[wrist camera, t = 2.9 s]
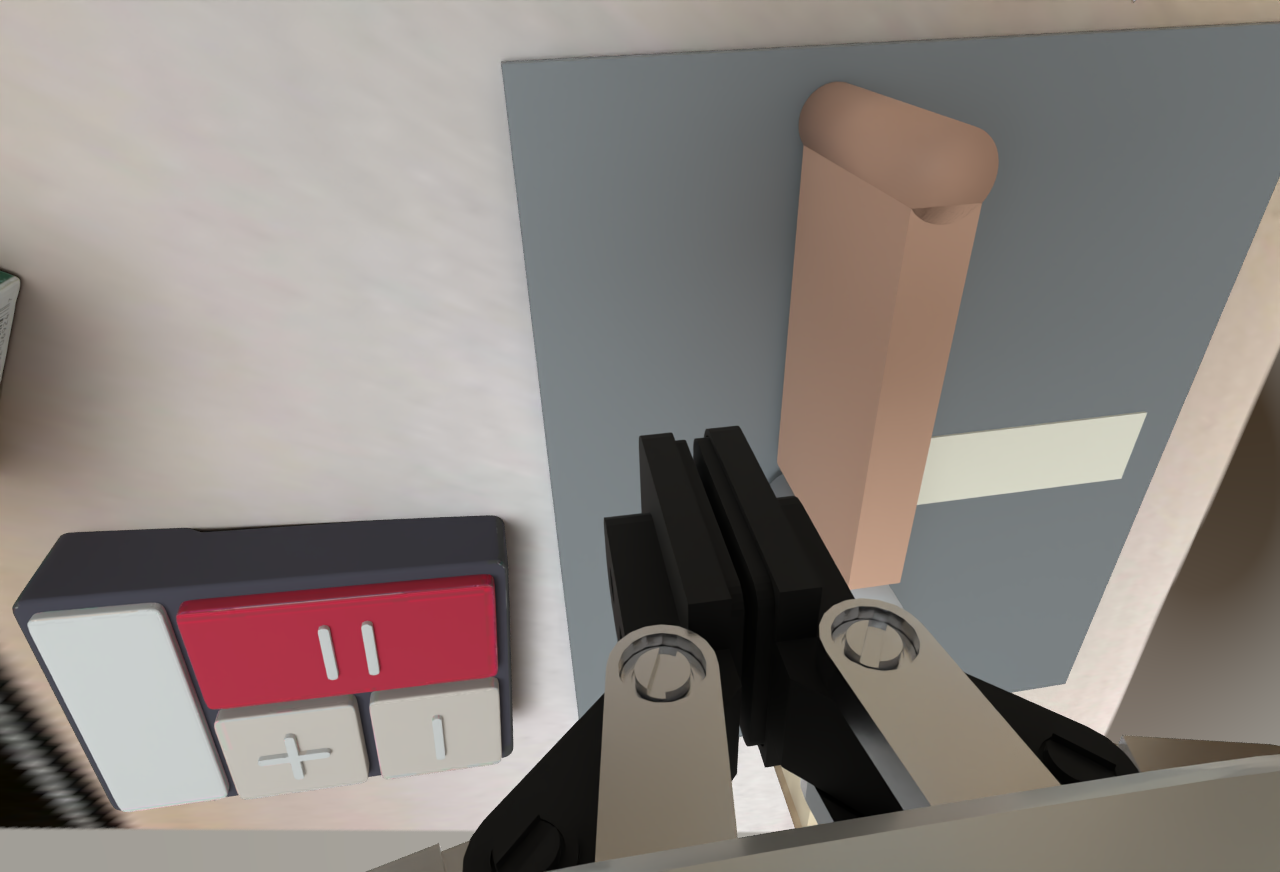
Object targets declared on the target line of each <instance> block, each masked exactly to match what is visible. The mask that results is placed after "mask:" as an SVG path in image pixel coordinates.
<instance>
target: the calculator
mask: <svg viewBox="0 0 1280 872" xmlns="http://www.w3.org/2000/svg"><path fill="white" fill-rule="evenodd" d="M13 613H14V616H15V618H16V620H17V622H18V624H19V626H20V628H21V630H22V632H23V634H24V635H25V637H26V639H27V641H28V643H29V645H30V647H31V649H32V651H33V653H34V655H35V657H36V659H37V661H38V663H39V665H40V667H41V669H42V670H43V672H44V674H45V676H46V678H47V680H48V682H49V684H50V686H51V688H52V690H53V692H54V694H55V696H56V698H57V700H58V702H59V704H60V705H61V707H62V709H63V711H64V713H65V715H66V717H67V719H68V721H69V723H70V725H71V727H72V729H73V731H74V733H75V735H76V737H77V739H78V740H79V742H80V744H81V746H82V748H83V750H84V752H85V754H86V756H87V758H88V760H89V762H90V764H91V766H92V768H93V770H94V772H95V774H96V775H97V777H98V779H99V781H100V783H101V785H102V787H103V789H104V791H105V793H106V795H107V797H108V799H109V801H110V803H111V804H112V806H113V807H114V808H115V809H117V810H121V811H124V812H133V811H140V810H147V809H155V808H162V807H169V806H176V805H183V804H190V803H197V802H204V801H211V800H218V799H222V798H225V797H229V796H236V795H239V796H240V798H242V799H255V798H262V797H269V796H276V795H283V794H290V793H297V792H304V791H311V790H318V789H325V788H332V787H339V786H346V785H353V784H359V783H364V782H366V781H367V780H368V777H371V776H378V775H382V777H383V778H385V779H395V778H402V777H409V776H416V775H423V774H430V773H437V772H444V771H451V770H458V769H465V768H472V767H479V766H486V765H493V764H497V763H499V762H500V761H501V758H503V757H507V756H508V755H510V754H511V753H512V751H513V719H512V684H511V648H510V613H509V578H508V561H507V549H506V539H505V528H504V522H503V521H502V519H501V518H499V517H497V516H464V517H440V518H416V519H393V520H373V521H357V522H342V523H328V524H314V525H300V526H286V527H272V528H257V529H243V530H229V531H214V532H199V531H196V530H193V529H190V528H169V529H145V530H120V531H96V532H75V533H66V534H63V535H61V536H60V538H59V539H58V540H57V542H56V543H55V545H54V546H53V547H52V549H51V550H50V552H49V553H48V555H47V556H46V558H45V559H44V561H43V562H42V564H41V565H40V566H39V568H38V569H37V571H36V572H35V574H34V575H33V577H32V578H31V580H30V581H29V583H28V584H27V585H26V587H25V588H24V590H23V591H22V593H21V594H20V596H19V597H18V599H17V600H16V602H15V604H14V605H13Z"/></svg>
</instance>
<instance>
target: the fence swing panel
mask: <svg viewBox="0 0 1280 872" xmlns="http://www.w3.org/2000/svg"><path fill="white" fill-rule="evenodd" d="M799 135H800V138H801V141H802V143H803V145H804V146H803V158H802V170H801V182H800V194H799V206H798V217H797V229H796V241H795V253H794V265H793V277H792V289H791V301H790V313H789V324H788V336H787V348H786V360H785V372H784V384H783V396H782V408H781V420H780V431H779V443H778V455H777V464H778V466H779V468H780V469H781V471H782V473H783V474H782V475H780V476H778V477H777V478H776V479H775V480H773V481H772V482H771V484H770V486H771V488H772V490H773V492H774V494H775V496H776V498H777V497H786V496H795V497H798V499H799V500H800V502H801V503H802V505H803V506H804V508H805V510H806V512H807V514H808V515H809V517H810V519H811V521H812V523H813V524H814V526H815V528H816V530H817V531H818V533H819V535H820V537H821V539H822V540H823V542H824V544H825V546H826V548H827V549H828V551H829V553H830V555H831V557H832V558H833V560H834V562H835V564H836V566H837V567H838V569H839V571H840V573H841V574H842V576H843V578H844V580H845V582H846V583H847V585H848V587H849V589H850V591H851V592H852V594H853V596H854V598H855V599H859V598H865V599H876V600H881V601H884V602H887V603H891V604H894V605H896V606H898V607H900V608H902V609H903V607H902V605H901V604H900V602H899V600H898V599H897V597H896V596H895V594H894V592H893V591H892V589H891V588H890V586H889V584H896V583H900V580H901V576H902V571H903V567H904V562H905V557H906V553H907V548H908V543H909V539H910V534H911V530H912V525H913V520H914V516H915V511H916V506H917V502H918V497H919V493H920V488H921V483H922V479H923V474H924V469H925V465H926V460H927V456H928V451H929V446H930V442H931V437H932V432H933V428H934V423H935V419H936V414H937V409H938V405H939V400H940V395H941V391H942V386H943V382H944V377H945V372H946V368H947V363H948V358H949V354H950V349H951V345H952V340H953V335H954V331H955V326H956V321H957V317H958V312H959V308H960V303H961V298H962V294H963V289H964V284H965V280H966V275H967V271H968V266H969V261H970V257H971V252H972V247H973V243H974V238H975V234H976V229H977V224H978V220H979V215H980V210H981V206H982V202H983V201H984V200H985V199H986V197H987V196H988V194H989V193H990V191H991V189H992V187H993V185H994V182H995V180H996V176H997V172H998V165H999V158H998V151H997V147H996V145H995V143H994V141H993V139H992V138H991V137H990V135H989V134H988V133H987V132H985V131H984V130H982V129H980V128H978V127H975V126H973V125H970V124H967V123H964V122H961V121H958V120H955V119H952V118H949V117H946V116H943V115H940V114H937V113H934V112H931V111H928V110H925V109H922V108H920V107H917V106H914V105H911V104H908V103H905V102H902V101H899V100H896V99H893V98H890V97H887V96H884V95H881V94H878V93H875V92H872V91H869V90H867V89H864V88H861V87H858V86H855V85H852V84H849V83H846V82H831V83H828V84H825V85H823V86H821V87H820V88H818V89H817V90H816V91H814V92H813V93H812V94H811V95H810V97H809V98H808V99H807V101H806V102H805V104H804V106H803V108H802V110H801V113H800V117H799Z"/></svg>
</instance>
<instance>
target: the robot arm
mask: <svg viewBox="0 0 1280 872" xmlns="http://www.w3.org/2000/svg"><path fill="white" fill-rule="evenodd" d="M639 464H640V488H641V513H639V514H630V515H622V516H613V517H604V536H605V549H606V561H607V571H608V580H609V588H610V596H611V603H612V610H613V616H614V622H615V629H616V635H617V644H616V645H615V647H614V648H613V649H612V651H611V652H610V654H609V658H608V662H607V665H606V677H605V693H604V694H603V695H602V696H601V697H600V698H599V699H598V700H597V701H596V702H595V703H594V704H593V705H592V706H591V707H590V708H589V710H588V711H587V712H586V713H585V714H584V715H583V716H582V717H581V718H580V719H579V720H578V721H577V722H576V723H575V724H574V725H573V726H572V728H571V729H570V730H569V731H568V732H567V733H566V734H565V735H564V736H563V737H562V738H561V739H560V740H559V741H558V742H557V743H556V744H555V746H554V747H553V748H552V749H551V750H550V751H549V752H548V753H547V754H546V755H545V756H544V757H543V758H542V759H541V760H540V761H539V762H538V763H537V765H536V766H535V767H534V768H533V769H532V770H531V771H530V772H529V773H528V774H527V775H526V776H525V777H524V778H523V779H522V780H521V781H520V783H519V784H518V785H517V786H516V787H515V788H514V789H513V790H512V791H511V792H510V793H509V794H508V795H507V796H506V797H505V798H504V799H503V801H502V802H501V803H500V804H499V805H498V806H497V807H496V808H495V809H494V810H493V811H492V812H491V813H490V814H489V815H488V816H487V817H486V819H485V820H484V821H483V822H482V823H481V825H480V826H479V827H478V829H477V830H476V832H475V833H474V834H473V836H472V837H471V839H470V841H467V842H465V843H462V844H459V845H457V846H454V847H452V848H449V849H447V850H444V851H441V848H440V845H439V843H438V844H436V845H433V846H431V847H428V848H426V849H423V850H420V851H418V852H415V853H413V854H410V855H408V856H405V857H402V858H400V859H398V860H395V861H392V862H390V863H387V864H384V865H382V866H379V867H377V868H374V869H372V870H369V871H366V872H1280V746H1277V745H1272V744H1258V743H1242V742H1224V741H1209V740H1193V739H1176V738H1159V737H1143V736H1126V735H1125V736H1124V735H1122V737H1121V739H1120V741H1119V743H1118V744H1115V743H1112V741H1110V740H1109V739H1108V738H1107V737H1105V736H1103V735H1101V734H1100V733H1098V732H1096V731H1094V730H1092V729H1091V728H1089V727H1087V726H1085V725H1082V724H1080V723H1078V722H1076V721H1073V720H1071V719H1069V718H1067V717H1064V716H1062V715H1060V714H1057V713H1055V712H1053V711H1051V710H1048V709H1046V708H1044V707H1042V706H1039V705H1037V704H1035V703H1033V702H1030V701H1028V700H1026V699H1024V698H1021V697H1019V696H1017V695H1014V694H1012V693H1010V692H1008V691H1005V690H1003V689H1001V688H999V687H996V686H994V685H992V684H990V683H987V682H985V681H983V680H981V679H978V678H976V677H974V676H971V675H969V674H967V673H965V672H963V671H962V669H961V668H960V667H959V666H958V665H957V664H956V662H955V661H954V660H953V659H952V658H951V657H950V655H949V654H948V653H947V652H946V651H945V650H944V649H943V647H942V646H941V645H940V644H939V643H938V642H937V640H936V639H935V638H934V637H933V636H932V635H931V633H930V632H929V631H928V630H927V629H926V628H925V626H924V625H923V624H922V623H921V622H920V621H918V620H917V619H916V618H915V617H914V616H913V615H912V614H911V613H909V612H907V611H905V610H904V609H902V608H900V607H898V606H896V605H894V604H891V603H887V602H884V601H881V600H876V599H865V598H859V599H855V598H854V596H853V594H852V592H851V591H850V589H849V587H848V585H847V583H846V582H845V580H844V578H843V576H842V574H841V573H840V571H839V569H838V567H837V566H836V564H835V562H834V560H833V558H832V557H831V555H830V553H829V551H828V549H827V548H826V546H825V544H824V542H823V540H822V539H821V537H820V535H819V533H818V531H817V530H816V528H815V526H814V524H813V523H812V521H811V519H810V517H809V515H808V514H807V512H806V510H805V508H804V506H803V505H802V503H801V502H800V500H799V499H798V497H795V496H786V497H777V498H776V496H775V494H774V492H773V490H772V488H771V486H770V484H769V482H768V480H767V478H766V476H765V474H764V472H763V470H762V469H761V467H760V465H759V463H758V461H757V459H756V457H755V455H754V453H753V451H752V449H751V447H750V445H749V443H748V441H747V439H746V437H745V435H744V434H743V432H742V430H741V428H740V427H739V426H728V427H718V428H708V429H706V430H705V433H704V438H695V439H694V442H693V457H692V455H691V452H690V449H689V447H688V444H687V442H686V440H676V441H675V438H674V435H673V433H671V432H670V433H661V434H651V435H641V436H639ZM739 726H740V729H741V732H742V736H743V739H744V741H745V744H746V745H747V746H754V745H758V747H759V750H760V753H761V756H762V759H763V763H764V766H765V767H771V766H778V765H781V767H782V768H784V769H786V770H788V771H789V772H791V773H793V774H795V775H796V776H798V777H800V787H801V789H802V792H803V795H804V798H805V801H806V802H807V804H808V806H809V808H810V810H811V812H812V814H813V816H814V818H815V819H816V821H817V823H818V825H813V826H807V827H801V828H795V829H789V830H783V831H777V832H771V833H765V834H760V835H753V836H747V837H742V838H738V837H737V828H736V819H735V809H734V800H733V791H732V782H731V781H732V780H733V778H734V777H735V776H736V774H737V761H738V743H739Z"/></svg>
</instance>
